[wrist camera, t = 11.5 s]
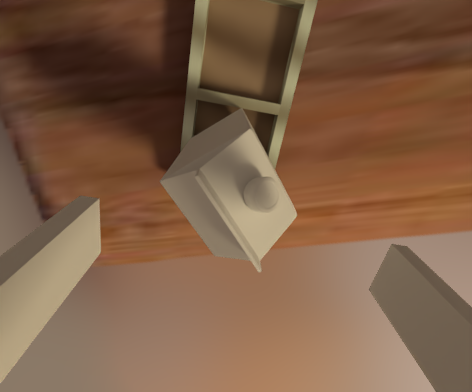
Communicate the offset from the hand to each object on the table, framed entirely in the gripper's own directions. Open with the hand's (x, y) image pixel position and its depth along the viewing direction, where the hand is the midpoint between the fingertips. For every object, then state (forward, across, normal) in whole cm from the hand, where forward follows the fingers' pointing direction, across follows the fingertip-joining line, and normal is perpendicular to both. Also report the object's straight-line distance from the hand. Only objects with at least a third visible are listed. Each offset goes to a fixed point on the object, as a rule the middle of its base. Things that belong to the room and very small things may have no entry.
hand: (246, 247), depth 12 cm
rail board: (+25, -1, +5) cm, 25 cm away
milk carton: (+22, -1, -1) cm, 22 cm away
